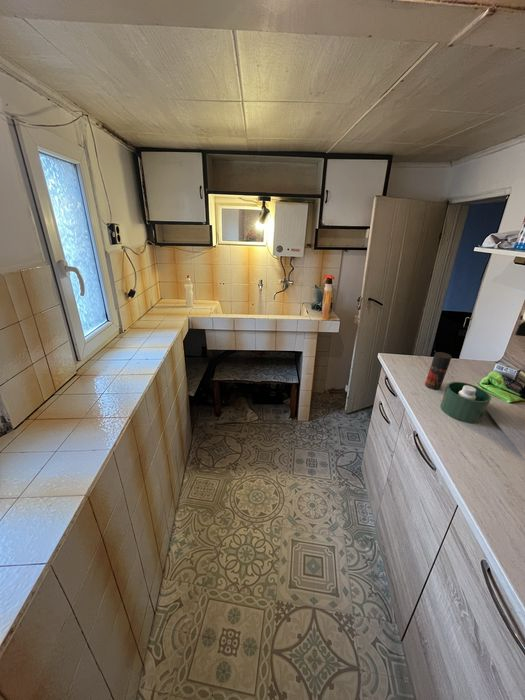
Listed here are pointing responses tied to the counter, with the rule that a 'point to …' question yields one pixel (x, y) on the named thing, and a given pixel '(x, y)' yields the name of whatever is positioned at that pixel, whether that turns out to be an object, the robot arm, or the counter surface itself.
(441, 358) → the deodorant
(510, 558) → the counter surface
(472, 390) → the supplement bottle
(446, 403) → the crock
